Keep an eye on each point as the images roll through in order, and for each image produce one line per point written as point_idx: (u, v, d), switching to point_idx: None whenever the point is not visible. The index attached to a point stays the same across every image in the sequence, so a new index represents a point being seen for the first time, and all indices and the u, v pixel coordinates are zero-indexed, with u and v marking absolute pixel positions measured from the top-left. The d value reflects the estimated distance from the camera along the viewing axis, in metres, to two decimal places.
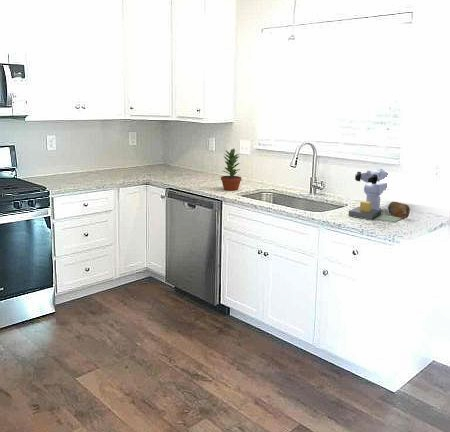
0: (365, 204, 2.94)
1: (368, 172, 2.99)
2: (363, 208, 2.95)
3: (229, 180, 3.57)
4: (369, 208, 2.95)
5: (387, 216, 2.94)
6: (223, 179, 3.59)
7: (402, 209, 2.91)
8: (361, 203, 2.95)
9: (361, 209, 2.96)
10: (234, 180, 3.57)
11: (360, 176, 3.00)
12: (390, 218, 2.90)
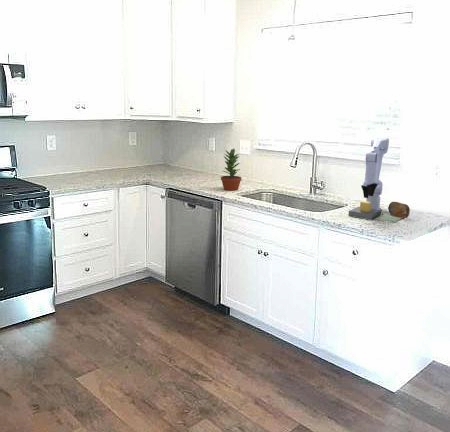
0: (365, 204, 2.94)
1: (374, 183, 2.94)
2: (363, 208, 2.95)
3: (229, 180, 3.57)
4: (369, 208, 2.95)
5: (387, 216, 2.94)
6: (223, 179, 3.59)
7: (402, 209, 2.91)
8: (361, 203, 2.95)
9: (361, 209, 2.96)
10: (234, 180, 3.57)
11: None
12: (390, 218, 2.90)
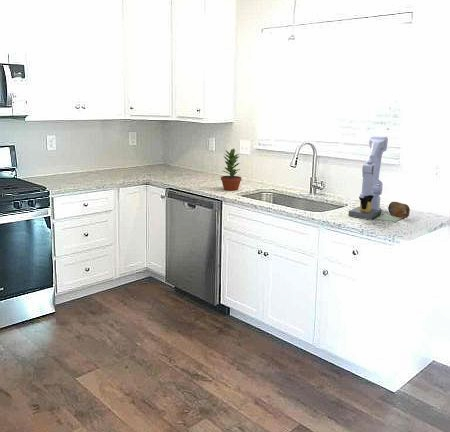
0: None
1: (371, 194, 2.93)
2: None
3: (229, 180, 3.57)
4: (369, 208, 2.95)
5: (387, 216, 2.94)
6: (223, 179, 3.59)
7: (402, 209, 2.91)
8: None
9: (361, 209, 2.96)
10: (234, 180, 3.57)
11: None
12: (390, 218, 2.90)
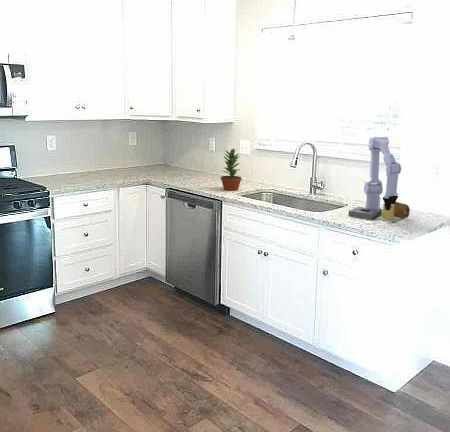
0: None
1: None
2: (386, 210, 2.88)
3: (229, 180, 3.57)
4: (392, 210, 2.88)
5: None
6: (223, 179, 3.59)
7: (402, 209, 2.91)
8: (384, 205, 2.88)
9: (384, 211, 2.89)
10: (234, 180, 3.57)
11: None
12: None
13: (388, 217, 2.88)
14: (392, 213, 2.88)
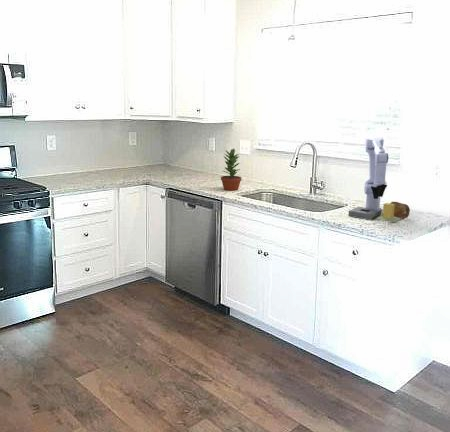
0: (388, 206, 2.87)
1: (384, 183, 2.92)
2: (386, 210, 2.88)
3: (229, 180, 3.57)
4: (392, 210, 2.88)
5: None
6: (223, 179, 3.59)
7: (402, 209, 2.91)
8: (384, 205, 2.88)
9: (384, 211, 2.89)
10: (234, 180, 3.57)
11: None
12: None
13: (388, 217, 2.88)
14: (392, 213, 2.88)
